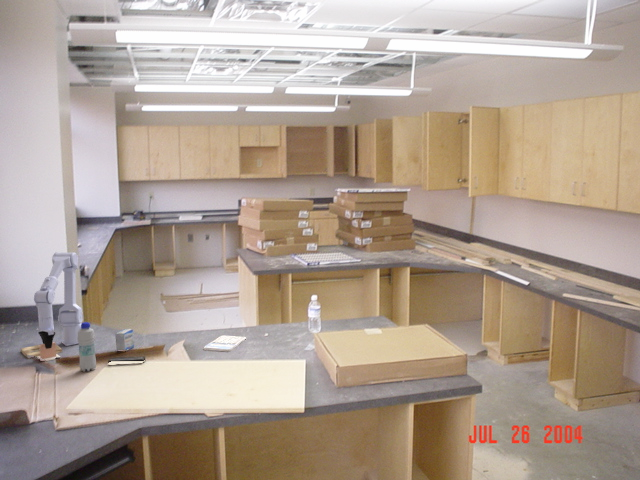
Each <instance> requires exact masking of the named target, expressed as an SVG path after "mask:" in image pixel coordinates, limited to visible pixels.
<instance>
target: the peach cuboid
mask: <svg viewBox="0 0 640 480" xmlns="http://www.w3.org/2000/svg"><path fill="white" fill-rule="evenodd" d="M55 344H56V342H54V341H53V342H52V347H51V348H49V349H46V347H45V344H43V343H40V344H38V345H39V346H40V358H42V359H45V358H49V357H54V356H56V354H57V353H56V345H57V344H56V345H55Z"/></svg>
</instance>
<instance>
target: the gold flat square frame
mask: <svg viewBox="0 0 640 480" xmlns="http://www.w3.org/2000/svg"><path fill="white" fill-rule="evenodd" d="M39 345H40V344H38V345H32V346H27V347H21V348H20V352H21V353H22V354H23V355H24V356H25V357H26V358H27V360H31V359H30V358H28V357H27V355H31V356H36V357H38V356H40V346H39ZM55 345H56V354H60V353H63V349H62V347H60V345H58V344H56V343H55ZM36 357H35V358H36Z"/></svg>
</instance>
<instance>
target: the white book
mask: <svg viewBox="0 0 640 480" xmlns="http://www.w3.org/2000/svg"><path fill="white" fill-rule="evenodd" d="M245 339H246V340H247V337H246V336H234V335H223V334H222V335H220V336H219V337H217V338H216V339H214V340H212V341H211V342H209V343H208V344H206V345H205V346H204V347H203V350H204V351H215V352H216V351H217V352H231V351H233V350H234V349H235V348H237V347H238V346H240V345H241V344H242V343H243V342H242V341H244V340H245ZM246 340H245V341H246ZM245 341H244V342H245ZM241 342H242V343H241ZM240 343H241V344H240ZM239 344H240V345H239Z"/></svg>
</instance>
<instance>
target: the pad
mask: <svg viewBox="0 0 640 480" xmlns="http://www.w3.org/2000/svg"><path fill="white" fill-rule="evenodd" d="M38 357H39V358H40V356H38ZM56 357H61V356H60V355H59V353H56V356H54V357H49V358H45V360H46V361H45V362H50V361H54V360H56V359H55V358H56Z"/></svg>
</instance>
